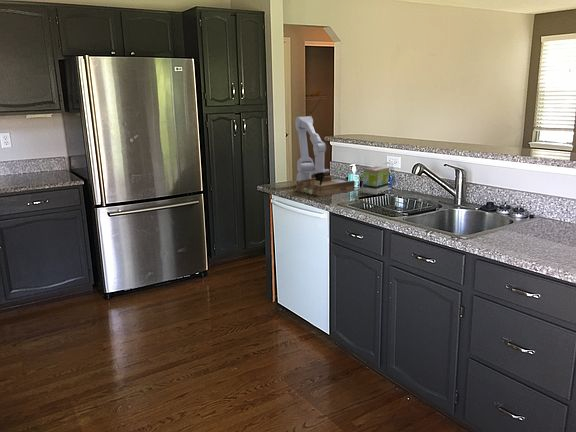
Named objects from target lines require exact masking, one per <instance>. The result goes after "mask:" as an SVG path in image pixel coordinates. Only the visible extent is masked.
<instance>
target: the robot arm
mask: <svg viewBox="0 0 576 432" xmlns="http://www.w3.org/2000/svg"><path fill="white" fill-rule="evenodd" d="M294 124H295V130H296V132H297V135H298V146H299V154H300V157H299V159H298V160H297V162H296V164H297V165H296V169H297V171H298V172H297V174H296V182H297V181H300V180H307V179H312V175H313V176H314V178H316V180H317V181H320V185H321V184H322V180H323V178H324V177H326V173H330V169H329V168H325V154H326V152H327V144H326V142H324V141H322V138H321V137H320V135H319V133H316V131H315V128H314V125H313V124H314V118H313V117H312V116H311V115H308V116H296V117H295V121H294ZM307 132H308V134H309V139H310V142H311V144H312V145H313V148H312V150H313V155H314V160H313V158H312V157H310V156H309V148H308V147H309V146H308V139H307ZM295 186H296V187H297V184H295Z"/></svg>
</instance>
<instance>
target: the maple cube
mask: <svg viewBox="0 0 576 432" xmlns="http://www.w3.org/2000/svg"><path fill="white" fill-rule="evenodd" d="M311 184H314V185H319V186H320V181H317V180H313V181H311Z"/></svg>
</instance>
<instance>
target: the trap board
mask: <svg viewBox="0 0 576 432" xmlns="http://www.w3.org/2000/svg"><path fill="white" fill-rule="evenodd" d="M313 180H316V178H315V177H314V178H311V179H307V180H300V181H297V180H296V185H297V186H296V191H297V192H301V193H304V192H305V194H308V193H309V195H312V194H313V195H312V196H316V195H317V197H320V196H321V197H324V196H325V195H326V196H331V194H332V195H336V194H341V193H348V192H353V191H355V184H356V182H355V180H349V181H342V182H339V181H333V180H332V175H329V176H327V175H326V176H324V178H323V180H322V184H321V185H320V186H319V185H314V184H311V181H313Z"/></svg>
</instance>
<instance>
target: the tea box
mask: <svg viewBox="0 0 576 432" xmlns="http://www.w3.org/2000/svg"><path fill="white" fill-rule="evenodd" d="M362 178H363V179H362V181H363V182H362V193H363V194H370V195H378V193H379V194H382V193H385V192H387V191H386V190H389V183H388V180H389V179H390V167H387V166H377V165H376V166H375V165H374V166H371V167H370V166H369V167H367V168H363V177H362ZM389 181H390V180H389ZM384 191H385V192H384ZM381 192H382V193H381Z"/></svg>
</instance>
